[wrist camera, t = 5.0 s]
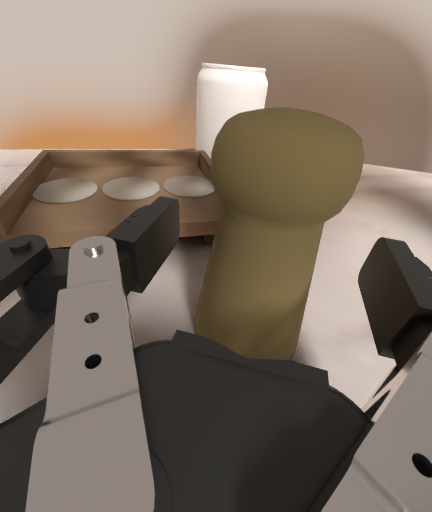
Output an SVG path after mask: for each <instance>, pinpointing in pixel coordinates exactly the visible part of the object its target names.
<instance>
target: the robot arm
mask: <svg viewBox="0 0 432 512" xmlns="http://www.w3.org/2000/svg"><path fill="white" fill-rule="evenodd" d="M179 235H180V210H179V201H178V199H175V198H170V197H164V196H159V197H158V198H157V199H156V200H155V201H154V202H153V203H152V204H150V205H145V206H143V207H141V208H138V209H136V210H135V211H134V212H133V213H132V214H131V215H130V216H128V217H127V218H126V219H125V220H124V221H122V222H121V223H120V224H119V225H118V226H117V227H115V228H114V229H113V230H112V231H111V232H110V233H108V234H107V235H106V236H92V237H87V238H84V239H81V240H79V241H77V242H76V243H74V244H73V245H72V246H71V248H70V249H49V247H48V244H47V242H46V240H45V238H43V237H41V236H38V235H22V236H17V237H14V238H11V239H8V240H6V241H4V242H2V243H1V244H0V302H1V301H2V300H3V299H4V298H6V297H7V296H8V295H9V294H10V293H11V292H13V291H14V290H15V289H16V291H17V293H18V295H19V296H20V298H21V300H20V301H19V302H18V303H16V304H15V305H14V306H13V307H12V308H11V309H10V310H9V311H7V312H6V313H5V314H4V315H3V316H2V317H1V318H0V384H1V383H2V382H3V381H4V379H5V378H6V377H7V376H8V375H9V374H10V373H11V372H12V370H13V369H14V368H15V367H16V366H17V365H18V364H19V362H20V361H21V360H22V359H23V358H24V357H25V356H26V354H27V353H28V352H29V351H30V350H31V349H32V348H33V347H34V345H35V344H36V343H37V342H38V341H39V340H40V339H41V337H42V336H43V335H44V334H45V333H46V332H47V331H48V329H49V328H50V327H51V326H52V325H53V324H54V323H55V325H54V335H53V345H52V354H51V364H50V374H49V383H48V393H47V398H45V399H43V400H41V401H40V402H38V403H36V404H34V405H33V406H31V407H29V408H27V409H26V410H24V411H22V412H20V413H19V414H17V415H15V416H13V417H12V418H10V419H8V420H6V421H5V422H3V423H1V424H0V512H432V271H431V270H430V268H429V267H428V266H427V265H425V264H424V263H423V262H422V261H421V260H419V259H418V258H417V257H414V255H413V253H412V252H411V250H410V249H409V247H408V245H407V244H406V242H404V241H399V240H394V239H389V238H383V237H381V238H379V239H378V240H377V241H376V243H375V245H374V246H373V248H372V250H371V252H370V253H369V255H368V257H367V259H366V261H365V262H364V264H363V266H362V268H361V270H360V273H359V277H358V284H359V288H360V291H361V295H362V298H363V302H364V305H365V309H366V312H367V316H368V320H369V323H370V327H371V330H372V334H373V337H374V341H375V344H376V348H377V352H378V355H380V356H384V357H388V358H392V359H395V361H396V365H395V366H394V367H393V368H392V369H391V370H390V372H389V373H388V374H387V376H386V377H385V378H384V380H383V381H382V382H381V384H380V385H379V386H378V388H377V389H376V390H375V392H374V393H373V394H372V396H371V397H370V399H369V400H368V401H367V403H366V404H365V405H364V406H363V408H362V409H360V408H359V407H358V406H357V405H356V404H355V403H354V402H353V401H352V400H350V399H349V398H348V397H347V396H345V395H344V394H343V393H341V392H340V391H338V390H337V389H335V388H334V387H332V386H330V385H329V381H328V371H326V370H322V369H319V368H315V367H311V366H308V365H304V364H300V363H297V362H293V361H289V360H273V359H249V358H245V357H243V356H241V355H239V354H238V353H236V352H234V351H232V350H230V349H228V348H227V347H225V346H223V345H221V344H219V343H218V342H216V341H214V340H212V339H209V338H206V337H202V336H198V335H195V334H191V333H187V332H184V331H180V330H176V333H175V335H174V337H173V339H172V340H163V341H155V342H150V343H147V344H144V345H140V346H138V347H136V343H135V338H134V333H133V327H132V321H131V316H130V310H129V305H128V299H127V295H128V294H129V293H130V291H134V292H138V293H143V291H144V290H145V288H146V287H147V285H148V284H149V283H150V281H151V280H152V278H153V277H154V275H155V274H156V273H157V271H158V270H159V268H160V267H161V265H162V264H163V263H164V261H165V260H166V258H167V257H168V255H169V254H170V253H171V251H172V250H173V248H174V247H175V245H176V244H177V242H178V239H179Z"/></svg>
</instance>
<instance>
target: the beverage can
mask: <svg viewBox="0 0 432 512" xmlns="http://www.w3.org/2000/svg"><path fill="white" fill-rule="evenodd" d="M265 71H266V69H264V68H253V67H242V66H231V65H220V64H209V63H202V70H201V71H200V73H199V75H198V77H197V109H196V150H204V151H205V152H206V153H207V155H208V156H209V157H210V158H211V152H212V149H213V145H214V142H215V139H216V136H217V134H218V133H219V131H220V130H221V128H222V127H223V125H224V124H225V122H226V121H227V120H228V119H229V118H231V117H233V116H234V115H236V114H238V113H242V112H246V111H252V110H257V109H264V105H265V99H266V93H267V87H268V82H267V79H266V76H265Z"/></svg>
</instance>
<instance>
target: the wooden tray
mask: <svg viewBox="0 0 432 512" xmlns="http://www.w3.org/2000/svg"><path fill="white" fill-rule="evenodd" d="M159 196H164V197H170V198H175V199H178V201H179V210H180V235H179V237H189V236H201V235H203V240H204V242H205V243H207V244H209V245H212V244H213V240H214V236H215V232H216V228H217V223H218V219H219V215H220V211H221V207H222V203H221V201H220V199H219V198H218V196H217V195H216V193H215V189H214V185H213V179H212V174H211V158H210V157H209V156H208V155H207V153H206V152H205V151H204V150H43V151H42V152H41V153H40V154H39V155H38V156H37V157H36V158H35V159H34V160H33V161H32V162H31V164H30V165H29V166H28V167H27V168H26V169H25V170H24V171H23V172H22V173H21V174H20V175H19V177H18V178H17V179H16V180H15V181H14V182H13V183H12V184H11V185H10V186H9V187H8V188H7V189H6V191H5V192H4V193H3V194H2V195H1V196H0V244H1V243H2V242H4V241H6V240H8V239H11V238H14V237H17V236H22V235H38V236H41V237H43V238H45V240H46V242H47V244H48V247H49V249H59V247H71V246H72V245H73V244H74V243H76V242H77V241H79V240H81V239H84V238H87V237H92V236H106V235H107V234H108V233H110V232H111V231H112V230H113V229H114V228H115V227H117V226H118V225H119V224H120V223H121V222H122V221H124V220H125V219H126V218H127V217H128V216H130V215H131V214H132V213H133V212H134V211H135V210H136V209H138V208H141V207H143V206H145V205H150V204H152V203H153V202H154V201H155V200H156V199H157V198H158V197H159Z"/></svg>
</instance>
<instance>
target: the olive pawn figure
mask: <svg viewBox="0 0 432 512" xmlns="http://www.w3.org/2000/svg"><path fill="white" fill-rule="evenodd" d="M363 160H364V151H363V146H362V140H361V138H360V136H358V134H357V133H356V132H355V131H354V130H353V129H352V128H351V127H350V126H348V125H346V124H344V123H342V122H339V121H337V120H335V119H333V118H330V117H327V116H325V115H322V114H318V113H315V112H311V111H306V110H299V109H291V108H266V109H257V110H252V111H246V112H242V113H238V114H236V115H234V116H233V117H231V118H229V119H228V120H227V121H226V122H225V124H224V125H223V127H222V128H221V130H220V131H219V133H218V134H217V136H216V139H215V142H214V145H213V149H212V152H211V174H212V179H213V185H214V189H215V193H216V195H217V196H218V198H219V199H220V201H221V203H222V207H221V211H220V215H219V219H218V223H217V228H216V232H215V236H214V240H213V244H212V249H211V253H210V257H209V261H208V266H207V270H206V274H205V278H204V282H203V287H202V291H201V295H200V299H199V304H198V308H197V312H196V316H195V335H198V336H202V337H206V338H209V339H212V340H214V341H216V342H218V343H219V344H221V345H223V346H225V347H227V348H228V349H230V350H232V351H234V352H236V353H238V354H239V355H241V356H243V357H245V358H249V359H273V360H289V359H290V358H291V357H292V356H293V353H294V351H295V348H296V345H297V342H298V337H299V333H300V328H301V324H302V319H303V315H304V310H305V306H306V301H307V297H308V293H309V288H310V284H311V279H312V275H313V270H314V266H315V261H316V257H317V252H318V248H319V243H320V239H321V234H322V230H323V225H324V222H326V221H327V220H329V219H330V218H332V217H334V216H335V215H337V214H338V213H340V212H341V210H342V209H343V208H344V206H345V205H346V204H347V203H348V201H349V200H350V199H351V197H352V195H353V193H354V191H355V188H356V186H357V184H358V182H359V179H360V176H361V173H362V166H363Z"/></svg>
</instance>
